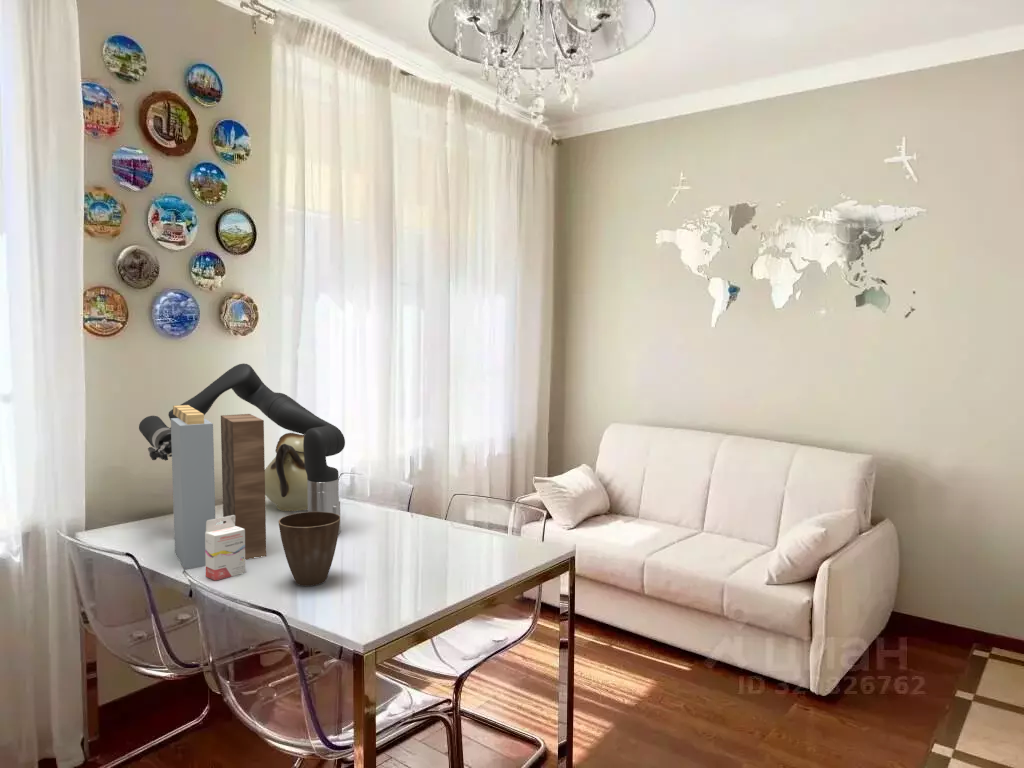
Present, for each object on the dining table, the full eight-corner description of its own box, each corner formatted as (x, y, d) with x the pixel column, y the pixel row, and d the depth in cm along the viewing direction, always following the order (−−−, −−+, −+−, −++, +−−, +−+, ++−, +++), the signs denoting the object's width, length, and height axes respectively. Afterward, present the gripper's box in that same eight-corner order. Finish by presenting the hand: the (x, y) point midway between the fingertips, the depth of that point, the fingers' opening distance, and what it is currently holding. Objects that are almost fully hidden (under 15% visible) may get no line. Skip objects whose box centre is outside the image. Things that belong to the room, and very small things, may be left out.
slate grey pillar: (174, 552, 205) (170, 418, 202) (205, 548, 209) (201, 416, 206) (184, 569, 192) (180, 425, 188) (216, 564, 196) (212, 423, 193)
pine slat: (173, 414, 210) (173, 405, 210) (188, 413, 213) (188, 404, 212) (187, 424, 190) (187, 415, 190) (204, 423, 192) (203, 414, 192)
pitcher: (312, 495, 272) (311, 429, 269) (341, 509, 253) (339, 438, 251) (252, 505, 258) (250, 435, 255) (277, 520, 240) (275, 445, 237)
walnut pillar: (223, 545, 212) (220, 415, 209) (252, 541, 216) (249, 413, 213) (236, 561, 199) (233, 422, 195) (266, 556, 203) (263, 420, 200)
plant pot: (268, 580, 184) (267, 518, 183) (321, 566, 195) (320, 508, 193) (298, 596, 174) (297, 530, 172) (352, 581, 184) (352, 519, 183)
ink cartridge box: (215, 581, 183) (213, 524, 182) (205, 577, 186) (203, 520, 185) (246, 572, 190) (245, 517, 188) (236, 568, 193) (235, 513, 192)
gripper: (140, 436, 217) (152, 447, 205) (189, 423, 226) (204, 433, 213) (145, 460, 219) (158, 472, 207) (194, 446, 227) (210, 457, 215)
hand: (182, 452), depth 210 cm, fingers open, 8 cm apart
